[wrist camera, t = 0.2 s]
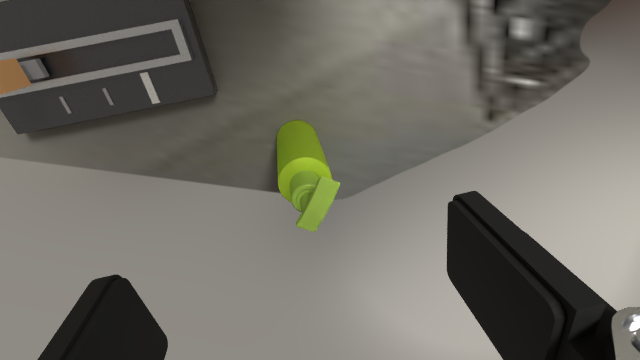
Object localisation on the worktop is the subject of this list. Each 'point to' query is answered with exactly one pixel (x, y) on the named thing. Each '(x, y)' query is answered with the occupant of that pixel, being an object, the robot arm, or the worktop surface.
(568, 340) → the robot arm
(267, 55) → the worktop surface
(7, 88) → the fader knob
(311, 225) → the soap dispenser
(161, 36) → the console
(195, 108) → the worktop surface
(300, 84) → the worktop surface
